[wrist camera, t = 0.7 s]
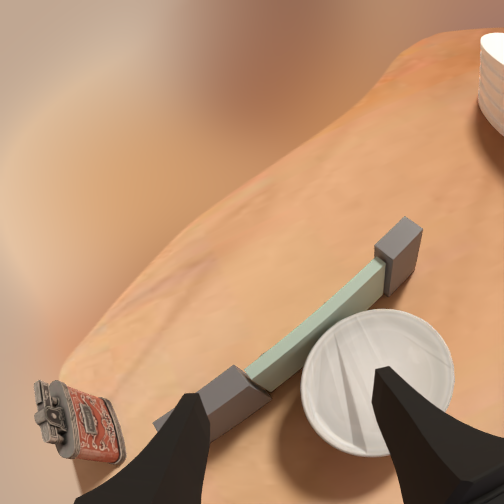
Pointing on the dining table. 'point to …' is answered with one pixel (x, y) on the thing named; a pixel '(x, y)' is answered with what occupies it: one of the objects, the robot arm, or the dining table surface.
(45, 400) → the lighter
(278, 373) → the door
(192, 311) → the dining table surface
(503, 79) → the plate stack
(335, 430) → the ramekin
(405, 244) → the grey angled pieces
